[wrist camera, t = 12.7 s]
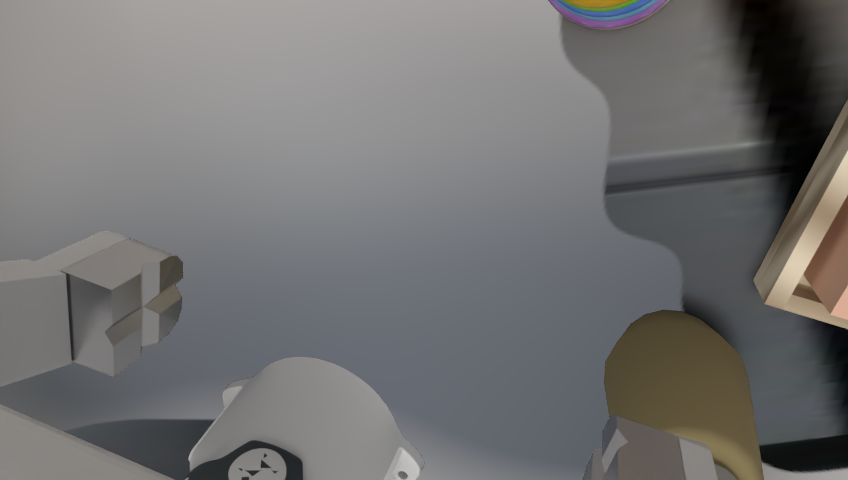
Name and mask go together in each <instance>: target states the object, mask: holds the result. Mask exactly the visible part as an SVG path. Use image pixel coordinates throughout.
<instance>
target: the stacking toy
mask: <svg viewBox="0 0 848 480" xmlns="http://www.w3.org/2000/svg"><path fill="white" fill-rule="evenodd" d="M548 1H549V2H550V3H551V4H552V5H553V7H554V8H555V9H556V10H557V11H558V12H559V13H560V14H562V15H563V16H564V17H566V18H567V19H569V20H570V21H572V22H574V23H576V24H578V25H581V26H583V27H586V28H591V29H597V30H616V29H621V28H625V27H629V26H632V25H635V24H637V23H639V22H641V21H643V20H645V19H647V18H649V17H651V16H652V15H654V14H655V13H656V12H658V11H659V10H660V9H661V8H663V7H664V6H665V5H666V4H667V3H668V2H669V1H670V0H548Z"/></svg>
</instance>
